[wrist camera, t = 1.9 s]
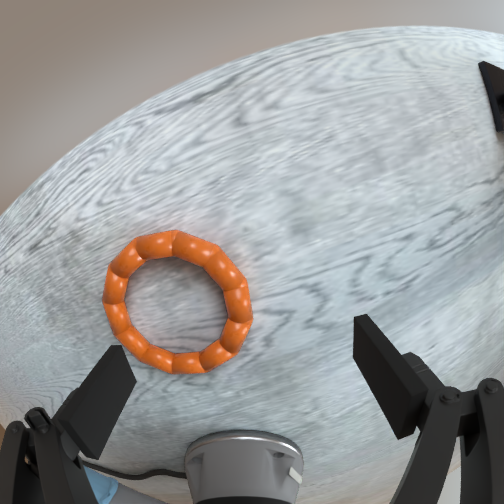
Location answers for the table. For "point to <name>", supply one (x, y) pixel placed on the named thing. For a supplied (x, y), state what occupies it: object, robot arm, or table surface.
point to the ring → (199, 255)
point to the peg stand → (495, 91)
